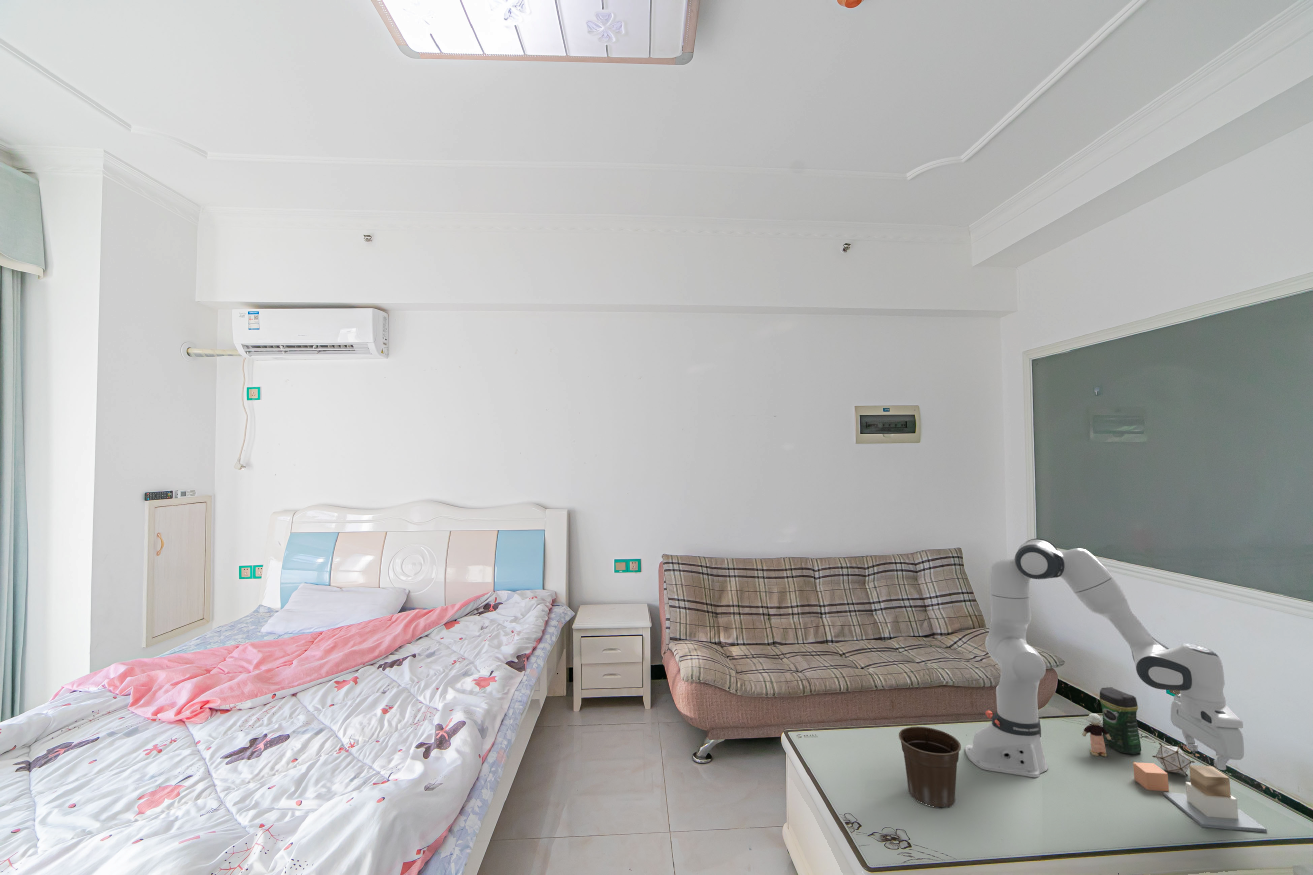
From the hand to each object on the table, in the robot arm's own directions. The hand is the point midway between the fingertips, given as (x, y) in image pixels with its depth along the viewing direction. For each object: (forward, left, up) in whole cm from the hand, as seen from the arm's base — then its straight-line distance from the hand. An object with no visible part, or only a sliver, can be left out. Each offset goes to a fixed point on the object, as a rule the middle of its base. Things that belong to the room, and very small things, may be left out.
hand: (1205, 758), depth 148 cm
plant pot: (-71, -2, -14) cm, 72 cm away
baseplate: (0, 0, -14) cm, 14 cm away
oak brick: (0, 0, -8) cm, 8 cm away
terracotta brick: (-7, +12, -14) cm, 20 cm away
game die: (+4, +20, -14) cm, 25 cm away
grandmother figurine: (-12, +29, -14) cm, 34 cm away
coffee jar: (-2, +34, -14) cm, 37 cm away
